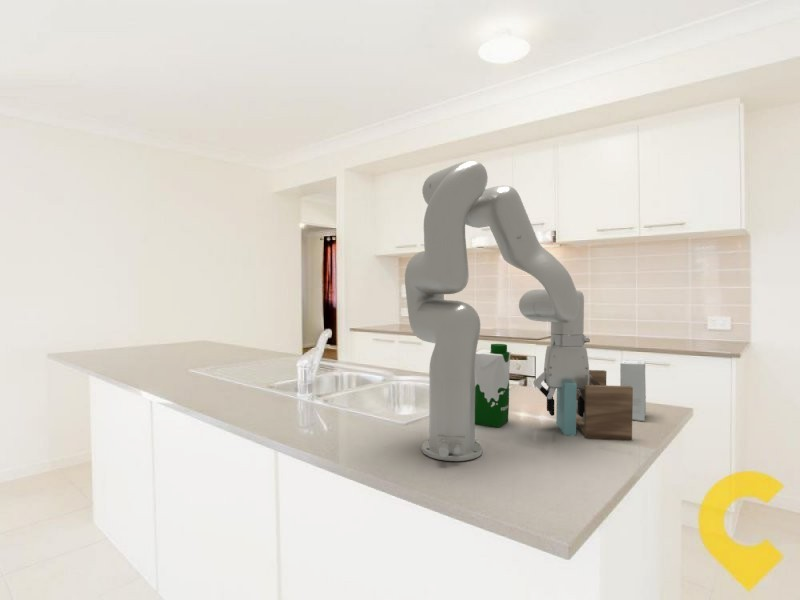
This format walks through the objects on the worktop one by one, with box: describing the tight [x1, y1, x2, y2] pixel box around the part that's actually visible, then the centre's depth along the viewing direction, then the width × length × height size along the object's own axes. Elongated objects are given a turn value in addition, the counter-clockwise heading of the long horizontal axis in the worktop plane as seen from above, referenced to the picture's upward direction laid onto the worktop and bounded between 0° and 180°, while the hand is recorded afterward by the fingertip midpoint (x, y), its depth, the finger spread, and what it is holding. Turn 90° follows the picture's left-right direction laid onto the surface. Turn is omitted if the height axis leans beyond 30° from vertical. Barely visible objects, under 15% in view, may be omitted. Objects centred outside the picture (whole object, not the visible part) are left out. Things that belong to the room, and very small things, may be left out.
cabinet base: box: [576, 369, 633, 441], centre depth 119 cm, size 22×10×12 cm, turn 172°
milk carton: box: [475, 343, 512, 429], centre depth 122 cm, size 9×9×20 cm
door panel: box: [555, 382, 577, 437], centre depth 116 cm, size 10×3×12 cm, turn 172°
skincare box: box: [619, 359, 647, 422], centre depth 128 cm, size 8×6×15 cm
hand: (565, 414), depth 117 cm, fingers open, 6 cm apart
